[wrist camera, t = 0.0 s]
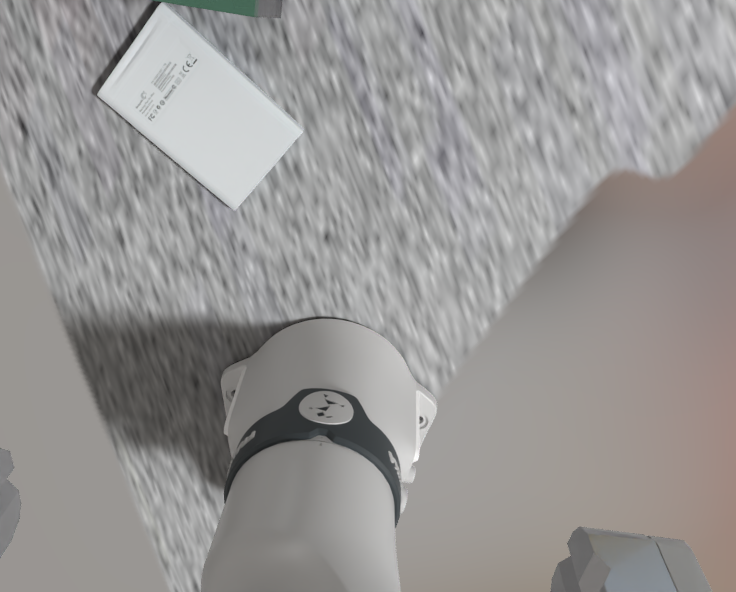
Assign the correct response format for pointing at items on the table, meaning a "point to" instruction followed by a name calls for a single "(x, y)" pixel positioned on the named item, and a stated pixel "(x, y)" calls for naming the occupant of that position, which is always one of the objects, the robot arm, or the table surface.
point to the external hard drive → (199, 107)
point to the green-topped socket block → (236, 6)
